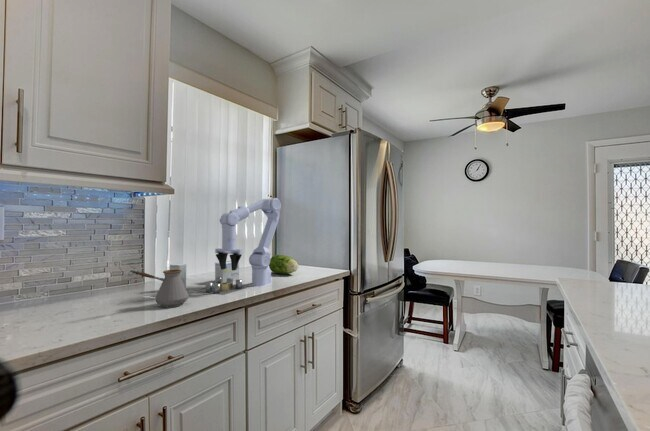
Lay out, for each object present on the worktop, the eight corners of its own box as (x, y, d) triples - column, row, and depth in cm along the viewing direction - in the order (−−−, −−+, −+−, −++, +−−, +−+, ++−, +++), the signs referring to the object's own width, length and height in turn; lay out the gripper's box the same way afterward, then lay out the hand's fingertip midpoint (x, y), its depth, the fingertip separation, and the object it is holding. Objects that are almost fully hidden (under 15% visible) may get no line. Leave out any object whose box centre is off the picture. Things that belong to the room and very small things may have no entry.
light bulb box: (231, 280, 168) (231, 260, 169) (239, 281, 165) (239, 261, 165) (214, 283, 160) (214, 262, 160) (222, 285, 156) (222, 263, 156)
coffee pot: (177, 299, 127) (177, 262, 127) (194, 303, 121) (195, 264, 121) (119, 312, 109) (120, 269, 109) (137, 318, 103) (138, 272, 103)
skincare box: (169, 290, 143) (169, 264, 143) (176, 288, 147) (176, 263, 147) (179, 291, 141) (179, 265, 141) (186, 289, 145) (186, 263, 145)
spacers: (218, 284, 153) (218, 276, 153) (244, 287, 146) (244, 279, 146) (193, 290, 140) (193, 281, 140) (221, 294, 133) (221, 285, 133)
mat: (217, 285, 154) (217, 284, 154) (246, 289, 146) (246, 288, 146) (192, 292, 140) (192, 290, 140) (222, 296, 132) (222, 294, 132)
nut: (223, 288, 145) (223, 281, 145) (232, 289, 144) (232, 282, 144) (217, 291, 140) (217, 284, 140) (226, 291, 139) (226, 284, 139)
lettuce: (289, 277, 177) (289, 257, 177) (265, 273, 190) (265, 255, 191) (303, 274, 186) (303, 255, 186) (279, 271, 199) (280, 253, 200)
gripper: (210, 239, 141) (209, 269, 141) (235, 240, 134) (234, 272, 134) (221, 238, 147) (221, 267, 147) (246, 239, 141) (245, 269, 140)
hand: (228, 269), depth 141 cm, fingers open, 6 cm apart
